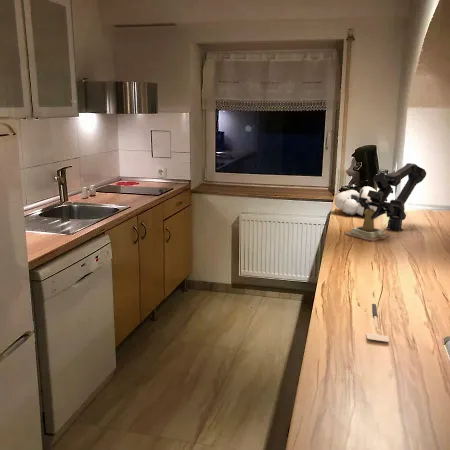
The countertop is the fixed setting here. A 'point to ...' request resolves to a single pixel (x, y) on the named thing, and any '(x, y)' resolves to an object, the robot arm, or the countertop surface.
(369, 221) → the cork
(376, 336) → the spatula
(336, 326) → the countertop surface
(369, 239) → the shaker holder
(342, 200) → the white lobed sculpture
